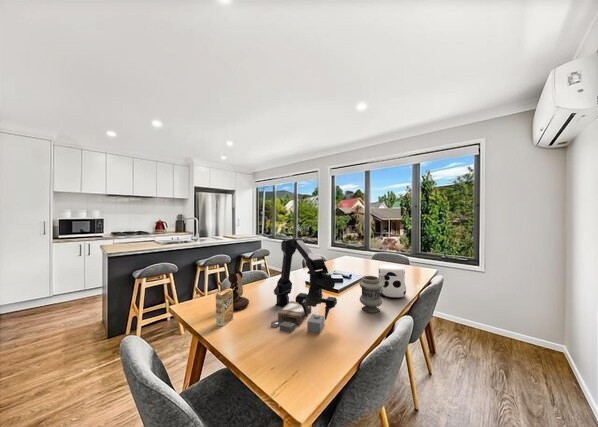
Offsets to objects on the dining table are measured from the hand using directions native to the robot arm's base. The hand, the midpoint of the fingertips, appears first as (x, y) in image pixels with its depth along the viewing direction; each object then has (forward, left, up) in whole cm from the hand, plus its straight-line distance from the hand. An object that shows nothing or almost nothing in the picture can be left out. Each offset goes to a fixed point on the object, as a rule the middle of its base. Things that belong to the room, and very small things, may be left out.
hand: (316, 318), depth 110 cm
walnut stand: (-14, +8, -4) cm, 17 cm away
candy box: (-44, -11, -5) cm, 46 cm away
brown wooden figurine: (-51, +7, -5) cm, 52 cm away
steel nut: (-19, -5, -5) cm, 20 cm away
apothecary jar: (+22, +29, -5) cm, 37 cm away
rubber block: (-12, -6, -5) cm, 14 cm away
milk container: (+32, +57, -5) cm, 66 cm away
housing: (0, 0, -5) cm, 5 cm away
